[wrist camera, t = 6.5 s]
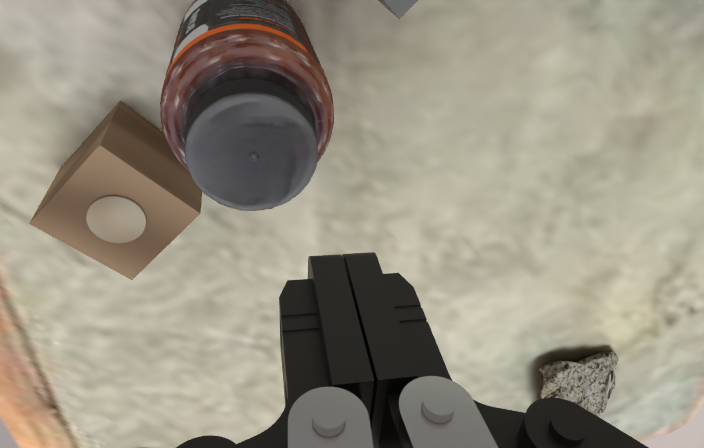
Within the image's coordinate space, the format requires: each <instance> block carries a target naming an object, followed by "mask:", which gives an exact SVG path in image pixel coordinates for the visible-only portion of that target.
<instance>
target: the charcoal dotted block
mask: <svg viewBox="0 0 704 448" xmlns="http://www.w3.org/2000/svg"><path fill="white" fill-rule="evenodd" d="M379 1H380V2H381V3H382V4H383V5H384V6H385V7H386V8H387V9H389V10H390V11H391V12H392V13H393V14H394V15H395V16H396V17H398V18H399V19H400V18H401V17H402V16H403V15H404V14H405V13H406V12H407V11H408V10H409V9H410V8H411V7H412V6H413V5H414V4H415V3H416V2H417V1H418V0H379Z"/></svg>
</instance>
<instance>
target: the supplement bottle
mask: <svg viewBox="0 0 704 448" xmlns="http://www.w3.org/2000/svg"><path fill="white" fill-rule="evenodd" d="M160 105H161V122H162V130H163V132H164V135H165V137H166V140H167V142H168V144H169V146H170V148H171V150H172V152H173V153H174V154H175V156H176V158H177V159H178V160H179V161H180V163H181V164H182V165H183V166H184V167H185V168H186V169H187V170H188V171H189V173H190V175H191V177H192V178H193V180H194V182H195V183H196V185H197V186H198V187H199V188H200V189H201V190H202V191H203V192H204V193H205V194H206V195H207V196H209V197H210V198H212V199H213V200H215V201H217V202H218V203H220V204H222V205H224V206H227V207H230V208H234V209H238V210H241V211H243V210H244V211H256V210H264V209H272V208H274V207H276V206H279V205H282V204H284V203H286V202H288V201H290V200H291V199H292V198H294V197H295V196H297V195H298V194H299V193H300V192H301V191H302V190H303V189H304V188H305V186H306V185H307V184H308V183H309V181H310V179H311V177H312V175H313V173H314V171H315V169H316V165H317V162H318V161H319V159H320V158H321V156H322V155H323V154H324V152H325V150H326V148H327V146H328V143H329V141H330V137H331V134H332V129H333V124H334V107H333V99H332V93H331V89H330V87H329V84H328V81H327V78H326V76H325V74H324V71H323V69H322V67H321V65H320V63H319V60H318V58H317V56H316V53H315V51H314V49H313V46H312V44H311V42H310V40H309V37H308V35H307V33H306V31H305V29H304V26H303V24H302V23H301V21H300V19H299V18H298V16H297V15H296V13H295V12H294V10H293V9H292V8H291V7H290V6H289V5H288V3H286V1H285V0H196V1H195V2H194V3H193V4H192V6H191V7H190V9H189V10H188V12H187V13H186V15H185V17H184V18H183V20H182V23H181V25H180V29H179V31H178V35H177V39H176V42H175V46H174V50H173V54H172V57H171V60H170V63H169V66H168V69H167V73H166V77H165V81H164V85H163V89H162V94H161V102H160Z"/></svg>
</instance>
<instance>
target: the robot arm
mask: <svg viewBox="0 0 704 448" xmlns="http://www.w3.org/2000/svg"><path fill="white" fill-rule="evenodd" d="M279 305H280V346H281V358H282V370H283V381H284V395H285V409H284V411H283V413H282V414H281V416H280V417H279V419H278V420H277V421H276V422H275V423H274V424H273V425H272V426H271V427H270V428H268V429H267V430H265V431H264V432H262V433H260V434H258V435H256V436H254V437H252V438H250V439H247V440H245V441H243V442H241V443H238V444H235V443H234V442H232V441H231V440H229V439H226V438H223V437H219V436H201V437H197V438H194V439H191V440H188V441H186V442H184V443H183V444H181V445H179V446H178V447H177V448H648V447H646V446H645V445H643V444H641V443H640V442H638V441H637V440H635V439H633V438H632V437H630V436H629V435H627V434H625V433H624V432H622V431H620V430H619V429H617V428H616V427H614V426H612V425H611V424H609V423H607V422H606V421H604V420H602V419H601V418H599V417H598V416H596V415H594V414H593V413H591V412H589V411H588V410H586V409H585V408H583V407H581V406H579V405H577V404H576V403H573V402H571V401H568V400H565V399H561V398H542V399H540V400H537V401H535V402H534V403H532V404H531V405H530V406H529V408H528V409H527V411H526V413H523V412H517V411H512V410H506V409H501V408H495V407H491V406H487V405H484V404H481V403H479V402H477V401H475V400H473V399H472V397H471V396H470V394H469V393H468V392H467V391H466V390H465V389H464V388H463V387H461V386H460V385H459V384H457V383H455V382H453V381H452V379H451V377H450V375H449V373H448V371H447V368H446V366H445V363H444V361H443V358H442V356H441V353H440V351H439V348H438V346H437V344H436V341H435V339H434V336H433V334H432V331H431V329H430V326H429V324H428V322H426V317H425V314H424V312H423V309H422V308H421V304H420V302H419V299H418V297H417V295H416V292H415V290H414V287H413V286H412V285H411V284H410V283H409V282H407V281H406V280H405V279H404V278H403V277H402V276H401V275H400V274H399V273H391V274H383V273H382V270H381V267H380V264H379V261H378V258H377V256H376V254H375V253H374V252H372V253H355V254H343V255H323V256H309V259H308V279H304V280H289V281H287V283H286V285H285V287H284V289H283V291H282V293H281V295H280V297H279Z"/></svg>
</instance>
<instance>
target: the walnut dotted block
mask: <svg viewBox="0 0 704 448" xmlns="http://www.w3.org/2000/svg"><path fill="white" fill-rule="evenodd" d="M201 199H202V190H201V189H200V188H199V187H198V186H197V185H196V183H195V182H194V180H193V178H192V177H191V175H190V173H189V171H188V170H187V169H186V168H185V167H184V166H183V165H182V164H181V163H180V161H179V160H178V159H177V158H176V156H175V154H174V153H173V152H172V150H171V148H170V146H169V144H168V142H167V140H166V137H165V135H164V133H163V132H162V131H160V130H159V129H158V128H156V127H155V126H154V125H152V124H151V123H150V122H148V121H147V120H146V119H144V118H143V117H142V116H140V115H139V114H138V113H136V112H135V111H134V110H132V109H131V108H130V107H128V106H127V105H126V104H124V103H123V102H121V101H120V102H119V103H118V104H117V105H116V106H115V107H114V109H113V110H112V111H111V112H110V113H109V114H108V115H107V116H106V118H105V119H104V120H103V121H102V122H101V123H100V124H99V125H98V127H97V128H96V129H95V130H94V131H93V132H92V133H91V135H90V136H89V137H88V138H87V139H86V140H85V141H84V142H83V144H82V145H81V146H80V147H79V148H78V149H77V150H76V152H75V153H74V154H73V155H72V156H71V157H70V158H69V159H68V161H67V162H66V163H65V164H64V165H63V166H62V167H61V168H60V170H59V171H58V173H57V175H56V177H55V179H54V180H53V182H52V184H51V186H50V188H49V189H48V191H47V193H46V195H45V196H44V198H43V200H42V202H41V204H40V205H39V207H38V209H37V211H36V213H35V214H34V216H33V218H32V220H31V221H30V223H29V224H31V225H33V226H35V227H37V228H38V229H40V230H42V231H44V232H46V233H47V234H49V235H51V236H53V237H55V238H57V239H58V240H60V241H62V242H64V243H66V244H67V245H69V246H71V247H73V248H75V249H77V250H78V251H80V252H82V253H84V254H86V255H87V256H89V257H91V258H93V259H95V260H96V261H98V262H100V263H102V264H104V265H106V266H107V267H109V268H111V269H113V270H115V271H116V272H118V273H120V274H122V275H124V276H126V277H127V278H129V279H131V280H133V279H134V278H135V277H136V276H137V275H138V274H139V273H140V272H141V271H142V270H143V269H144V268H145V267H146V266H147V265H148V264H149V263H150V262H151V261H152V260H153V259H154V258H155V257H156V256H157V255H158V254H159V253H160V252H161V251H162V250H163V249H164V248H165V247H166V246H167V245H168V244H170V243H171V242H172V241H173V240H174V239H175V238H176V237H177V236H178V235H179V234H180V233H181V232H182V231H183V230H184V229H185V228H186V227H187V226H188V225H189V224H190V223H191V222H192V221H193V220H194V219H195V218H196V217H197V216H198V215H199V214H200V211H201Z"/></svg>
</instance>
